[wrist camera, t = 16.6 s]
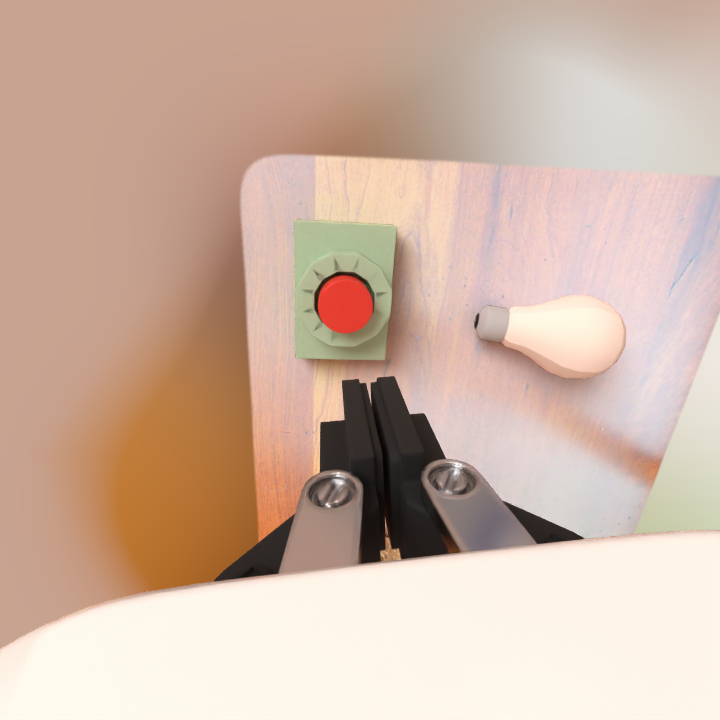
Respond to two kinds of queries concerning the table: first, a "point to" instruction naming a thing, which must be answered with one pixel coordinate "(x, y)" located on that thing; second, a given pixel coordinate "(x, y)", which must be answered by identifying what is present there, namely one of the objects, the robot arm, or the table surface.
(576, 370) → the light bulb
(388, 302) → the control block
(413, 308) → the table surface
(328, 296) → the button
